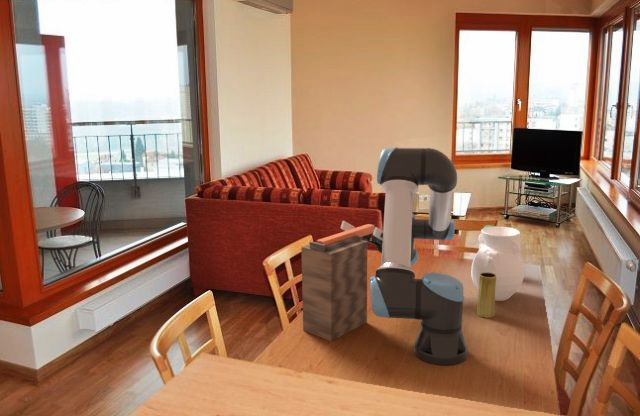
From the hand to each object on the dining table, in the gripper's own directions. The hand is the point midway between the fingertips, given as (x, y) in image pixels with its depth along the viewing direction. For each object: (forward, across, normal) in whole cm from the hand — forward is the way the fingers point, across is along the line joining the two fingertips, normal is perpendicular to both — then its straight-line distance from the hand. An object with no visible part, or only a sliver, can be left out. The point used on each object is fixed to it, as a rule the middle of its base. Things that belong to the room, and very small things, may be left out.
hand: (358, 227), depth 186 cm
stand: (-5, 0, -33) cm, 33 cm away
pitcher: (-56, -28, -4) cm, 63 cm away
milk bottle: (-74, -14, +7) cm, 76 cm away
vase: (-40, -33, -13) cm, 53 cm away
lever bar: (+4, 0, -6) cm, 7 cm away
